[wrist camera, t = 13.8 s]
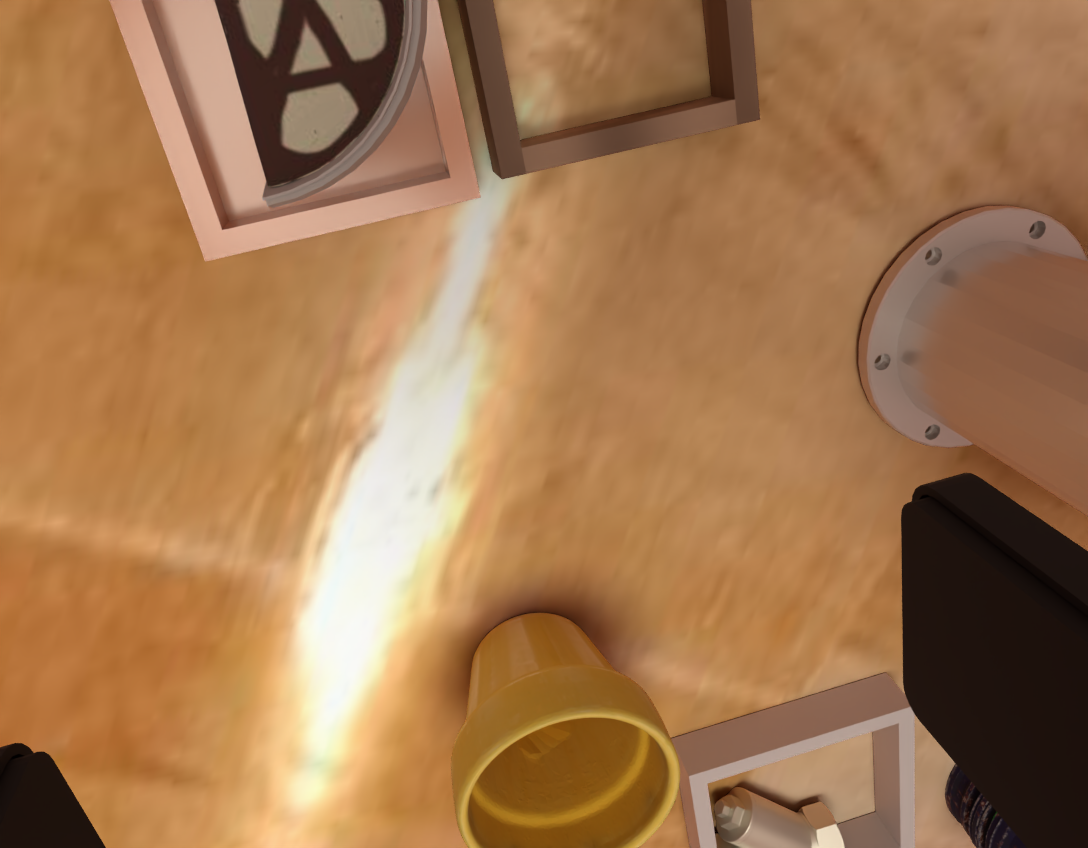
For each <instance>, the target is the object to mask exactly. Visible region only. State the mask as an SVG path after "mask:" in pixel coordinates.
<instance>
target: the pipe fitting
mask: <svg viewBox="0 0 1088 848" xmlns="http://www.w3.org/2000/svg"><path fill="white" fill-rule="evenodd" d="M714 812H715V817H716V827H717V831H718V833H717V834H715V838H716V845H717V848H845V846H844V842H843V838H842V835H841V833H840V830H839V828H838V825H837V823H836V821H835V819H834V817H833V815H832V814H831V812H830V811H829V809H828V808H827V807H826V806H825V805H824V804H823V803H822V802H821V801H820V802H817V803H814V804H811V805H807V806H804V807H802V808H801V809H800V810H799V811H798V812H797V813H796V812H793V811H791V810H789V809H787V808H785V807H783V806H781V805H779V804H776V803H774V802H772V801H770V800H768V799H765V798H763V797H761V796H759V795H757V794H755V793H752V792H750V791H748V790H746V789H744V788H741V787H735V788H733V789H732V790H731V791H730V792H729V793H728V794H727V795H726V796H725V797H723V798H721V799H720V800H719V801H717V802H716V804H715V807H714Z"/></svg>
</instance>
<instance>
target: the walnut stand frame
mask: <svg viewBox="0 0 1088 848" xmlns="http://www.w3.org/2000/svg"><path fill="white" fill-rule="evenodd" d="M702 1H703V11H704V21H705V32H706V42H707V52H708V62H709V72H710V82H711V92H712V96H711V97H707V98H703V99H698V100H694V101H689V102H685V103H681V104H676V105H672V106H667V107H663V108H659V109H654V110H650V111H645V112H641V113H637V114H632V115H628V116H623V117H619V118H615V119H610V120H606V121H601V122H597V123H593V124H588V125H584V126H579V127H575V128H571V129H566V130H562V131H557V132H553V133H548V134H544V135H540V136H535V137H531V138H526V139H522V140H520V138H519V133H518V128H517V123H516V118H515V112H514V107H513V102H512V97H511V92H510V87H509V81H508V76H507V71H506V66H505V61H504V56H503V50H502V45H501V40H500V35H499V30H498V25H497V20H496V14H495V9H494V4H493V0H457V2H458V7H459V11H460V16H461V21H462V26H463V31H464V35H465V40H466V45H467V50H468V54H469V59H470V64H471V69H472V73H473V78H474V83H475V88H476V92H477V97H478V102H479V107H480V111H481V116H482V121H483V126H484V130H485V135H486V140H487V145H488V150H489V154H490V159H491V164H492V169H493V172H495V173H496V174H497V175H498V176H499V177H500V178H501V179H505V178H510V177H514V176H518V175H523V174H527V173H531V172H536V171H540V170H544V169H548V168H553V167H557V166H561V165H566V164H570V163H574V162H579V161H583V160H587V159H592V158H596V157H600V156H605V155H609V154H613V153H618V152H622V151H626V150H631V149H635V148H639V147H644V146H648V145H652V144H657V143H661V142H665V141H669V140H674V139H678V138H682V137H687V136H691V135H695V134H700V133H704V132H708V131H713V130H717V129H721V128H726V127H730V126H734V125H739V124H743V123H747V122H752V121H756V120H760V113H759V100H758V87H757V74H756V61H755V48H754V36H753V23H752V10H751V0H702Z"/></svg>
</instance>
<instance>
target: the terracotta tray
mask: <svg viewBox="0 0 1088 848" xmlns="http://www.w3.org/2000/svg"><path fill="white" fill-rule="evenodd" d="M110 3H111V6H112V9H113V11H114V14H115V17H116V19H117V22H118V25H119V28H120V30H121V33H122V36H123V39H124V41H125V44H126V47H127V49H128V52H129V55H130V58H131V60H132V63H133V66H134V68H135V71H136V74H137V77H138V79H139V82H140V85H141V88H142V90H143V93H144V96H145V98H146V101H147V104H148V107H149V109H150V112H151V115H152V117H153V120H154V123H155V126H156V128H157V131H158V134H159V137H160V139H161V142H162V145H163V147H164V150H165V153H166V156H167V158H168V161H169V164H170V166H171V169H172V172H173V175H174V177H175V180H176V183H177V185H178V188H179V191H180V194H181V196H182V199H183V202H184V205H185V207H186V210H187V213H188V215H189V218H190V221H191V224H192V226H193V229H194V232H195V234H196V237H197V240H198V243H199V245H200V248H201V251H202V254H203V256H204V259H205V261H210V260H214V259H218V258H223V257H227V256H231V255H235V254H240V253H244V252H248V251H253V250H257V249H261V248H265V247H270V246H274V245H278V244H283V243H287V242H291V241H296V240H300V239H304V238H308V237H313V236H317V235H321V234H326V233H330V232H334V231H338V230H343V229H347V228H351V227H356V226H360V225H364V224H368V223H373V222H377V221H381V220H386V219H390V218H394V217H398V216H403V215H407V214H411V213H416V212H420V211H424V210H429V209H433V208H437V207H441V206H446V205H450V204H454V203H459V202H463V201H467V200H471V199H476V198H480V197H481V196H480V192H479V187H478V183H477V178H476V174H475V169H474V164H473V160H472V155H471V151H470V146H469V142H468V137H467V132H466V128H465V123H464V119H463V114H462V110H461V105H460V100H459V96H458V91H457V87H456V82H455V78H454V73H453V69H452V64H451V59H450V55H449V50H448V46H447V41H446V37H445V32H444V27H443V23H442V18H441V14H440V9H439V5H438V0H428V3H427V33H426V39H425V45H424V51H423V56H422V62H421V66H420V69H419V72H418V75H417V78H416V81H415V84H414V87H413V90H412V93H411V96H410V98H409V100H408V102H407V104H406V106H405V108H404V109H403V111H402V113H401V115H400V117H399V119H398V121H397V123H396V125H395V126H394V127H393V129H392V130H391V131H390V133H389V134H388V135H387V136H386V138H385V139H384V140H383V142H382V143H381V144H380V146H379V147H378V148H377V150H375V151H374V152H373V153H372V154H371V155H370V156H369V157H368V158H367V159H366V160H365V161H364V162H363V163H362V164H361V165H360V166H359V167H358V168H357V169H355V170H354V171H353V172H351V173H350V174H348V175H347V176H345V177H344V178H342V179H341V180H339V181H338V182H336V183H335V184H333V185H332V186H331V187H329V188H327V189H324V190H322V191H320V192H318V193H316V194H313V195H311V196H309V197H307V198H305V199H302V200H299V201H296V202H292V203H289V204H285V205H282V206H278V207H275V208H273V207H269V206H267V203H266V200H264V201H263V199H262V197H263V192H264V188H265V184H266V178H265V175H264V171H263V168H262V165H261V161H260V158H259V155H258V151H257V148H256V144H255V141H254V137H253V134H252V130H251V126H250V123H249V119H248V116H247V112H246V109H245V105H244V102H243V98H242V95H241V91H240V87H239V84H238V80H237V77H236V73H235V69H234V66H233V62H232V59H231V55H230V51H229V48H228V44H227V41H226V37H225V34H224V31H223V27H222V24H221V21H220V17H219V14H218V10H217V7H216V4H215V0H110Z"/></svg>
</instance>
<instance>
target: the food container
mask: <svg viewBox="0 0 1088 848" xmlns="http://www.w3.org/2000/svg"><path fill="white" fill-rule="evenodd" d="M427 3H428V0H215V4H216V7H217V10H218V14H219V17H220V21H221V24H222V27H223V31H224V34H225V37H226V41H227V44H228V48H229V51H230V55H231V59H232V62H233V66H234V69H235V73H236V77H237V80H238V84H239V87H240V91H241V95H242V98H243V102H244V105H245V109H246V112H247V116H248V119H249V123H250V126H251V130H252V134H253V137H254V141H255V144H256V148H257V151H258V155H259V158H260V161H261V165H262V168H263V171H264V175H265V178H266V184H265V188H264V192H263V197H262V199H263V201H264V200H266V203H267V206H269V207H273V208H275V207H278V206H282V205H285V204H289V203H292V202H296V201H299V200H302V199H305V198H307V197H309V196H311V195H313V194H316V193H318V192H320V191H322V190H324V189H327V188H329V187H331V186H332V185H333V184H335V183H336V182H338V181H339V180H341V179H342V178H344V177H345V176H347V175H348V174H350V173H351V172H353V171H354V170H355V169H357V168H358V167H359V166H360V165H361V164H362V163H363V162H364V161H365V160H366V159H367V158H368V157H369V156H370V155H371V154H372V153H373V152H374V151H375V150H377V148H378V147H379V146H380V144H381V143H382V142H383V140H384V139H385V138H386V136H387V135H388V134H389V133H390V131H391V130H392V129H393V127H394V126H395V125H396V123H397V121H398V119H399V117H400V115H401V113H402V111H403V109H404V108H405V106H406V104H407V102H408V100H409V98H410V96H411V93H412V90H413V87H414V84H415V81H416V78H417V75H418V72H419V69H420V66H421V62H422V56H423V51H424V45H425V39H426V33H427Z"/></svg>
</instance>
